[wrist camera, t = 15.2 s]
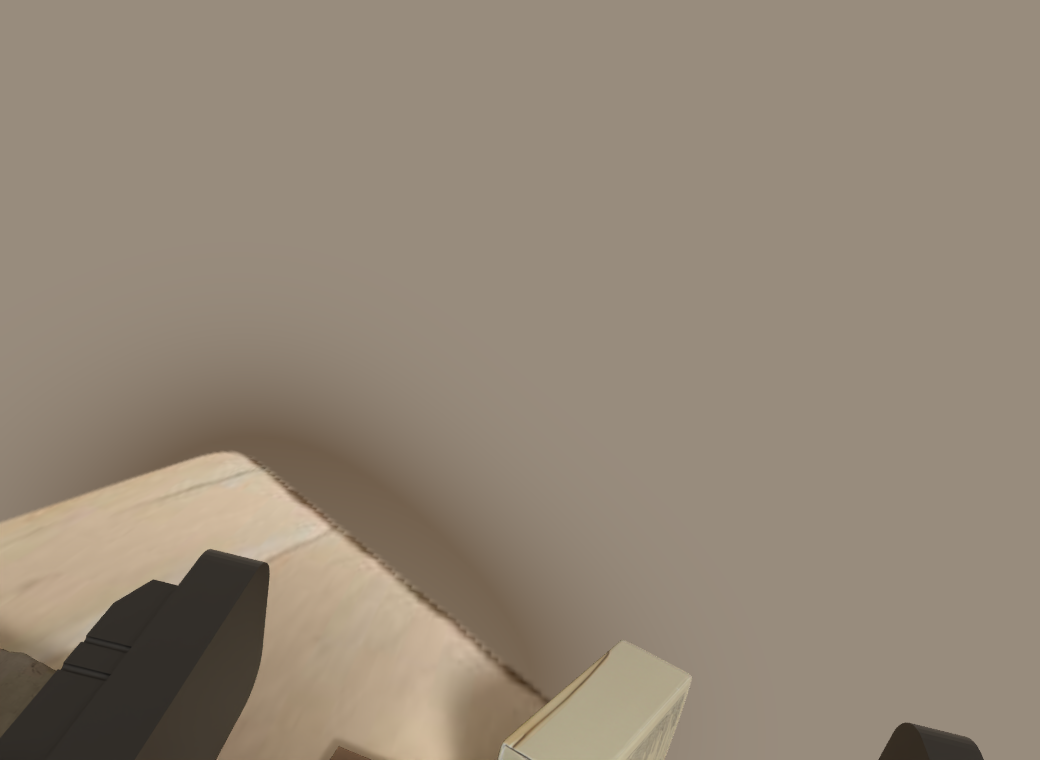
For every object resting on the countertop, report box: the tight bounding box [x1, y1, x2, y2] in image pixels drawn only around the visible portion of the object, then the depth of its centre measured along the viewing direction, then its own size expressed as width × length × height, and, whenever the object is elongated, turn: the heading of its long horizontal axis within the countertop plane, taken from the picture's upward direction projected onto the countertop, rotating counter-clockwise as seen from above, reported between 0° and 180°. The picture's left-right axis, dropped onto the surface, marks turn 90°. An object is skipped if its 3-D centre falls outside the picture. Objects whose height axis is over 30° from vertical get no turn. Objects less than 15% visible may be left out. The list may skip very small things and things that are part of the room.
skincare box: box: [497, 640, 692, 760], centre depth 41 cm, size 6×4×12 cm
